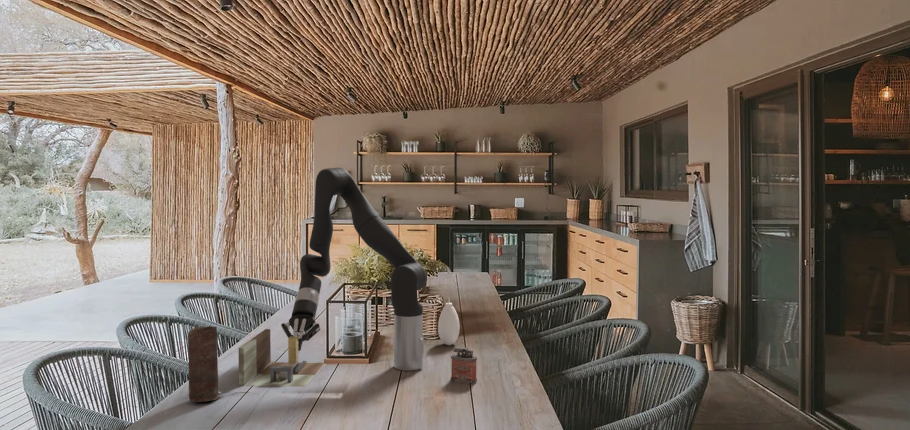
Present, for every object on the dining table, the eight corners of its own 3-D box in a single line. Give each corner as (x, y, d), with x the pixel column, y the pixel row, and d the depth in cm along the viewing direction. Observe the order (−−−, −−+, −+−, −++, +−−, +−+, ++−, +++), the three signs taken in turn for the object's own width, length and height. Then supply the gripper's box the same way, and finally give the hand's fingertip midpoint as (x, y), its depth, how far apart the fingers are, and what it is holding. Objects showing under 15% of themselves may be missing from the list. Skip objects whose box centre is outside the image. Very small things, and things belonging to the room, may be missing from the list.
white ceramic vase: (435, 346, 212) (435, 297, 211) (442, 340, 219) (442, 293, 218) (455, 348, 209) (455, 298, 208) (462, 342, 217) (462, 294, 216)
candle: (207, 407, 152) (206, 331, 152) (182, 405, 154) (181, 330, 153) (224, 397, 160) (223, 325, 159) (200, 394, 161) (199, 323, 160)
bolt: (298, 367, 182) (298, 336, 181) (287, 378, 171) (287, 346, 170) (290, 366, 182) (290, 336, 181) (279, 378, 171) (279, 345, 170)
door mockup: (324, 366, 187) (324, 329, 187) (305, 390, 165) (304, 348, 165) (266, 365, 188) (265, 329, 187) (239, 389, 166) (238, 348, 165)
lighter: (478, 380, 174) (478, 347, 174) (475, 384, 171) (475, 350, 171) (452, 377, 177) (453, 345, 177) (449, 381, 174) (449, 348, 173)
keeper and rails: (307, 364, 185) (307, 351, 185) (290, 382, 168) (290, 368, 168) (288, 364, 185) (288, 351, 185) (270, 382, 169) (270, 368, 168)
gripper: (283, 298, 191) (271, 345, 180) (323, 298, 191) (313, 345, 179) (289, 310, 197) (277, 356, 185) (327, 311, 196) (318, 357, 185)
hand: (295, 351), depth 182 cm, fingers closed
